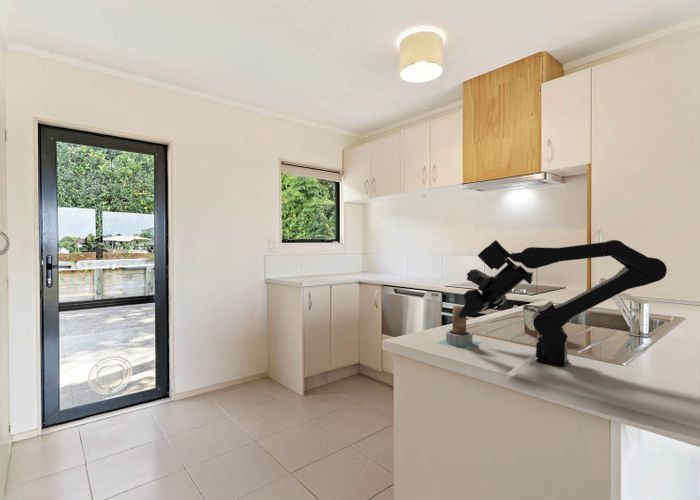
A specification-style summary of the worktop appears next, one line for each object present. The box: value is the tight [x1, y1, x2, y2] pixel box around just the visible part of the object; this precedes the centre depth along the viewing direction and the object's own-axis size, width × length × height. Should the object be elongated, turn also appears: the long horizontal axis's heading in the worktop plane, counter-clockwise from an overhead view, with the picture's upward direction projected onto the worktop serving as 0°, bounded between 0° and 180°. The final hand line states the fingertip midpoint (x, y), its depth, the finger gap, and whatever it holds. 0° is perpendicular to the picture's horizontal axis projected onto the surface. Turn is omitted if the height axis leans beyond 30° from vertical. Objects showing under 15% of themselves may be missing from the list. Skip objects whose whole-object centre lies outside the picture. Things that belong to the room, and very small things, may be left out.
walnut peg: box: [452, 305, 467, 335], centre depth 110 cm, size 4×4×11 cm
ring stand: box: [436, 329, 482, 350], centre depth 110 cm, size 10×10×4 cm
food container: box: [522, 304, 544, 341], centre depth 123 cm, size 12×6×10 cm, turn 179°
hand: (466, 315), depth 109 cm, fingers open, 9 cm apart
